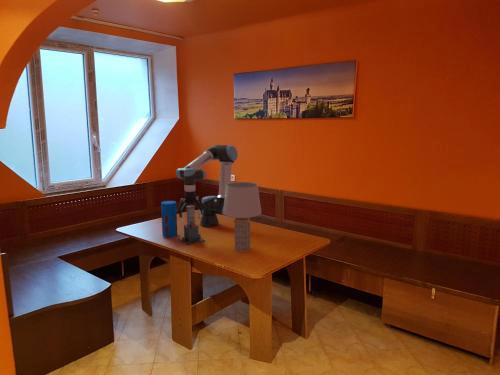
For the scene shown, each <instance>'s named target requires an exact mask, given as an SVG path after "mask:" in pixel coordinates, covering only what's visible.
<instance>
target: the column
mask: <svg viewBox="0 0 500 375" xmlns="http://www.w3.org/2000/svg"><path fill="white" fill-rule="evenodd" d="M196 207H197V206H196V205H194V204H189V205H187V206H186V207H185V209H186V219H187V220H186V225H187V226H188V227H191V224H196V220H195V219H196V217H195V209H196Z"/></svg>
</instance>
